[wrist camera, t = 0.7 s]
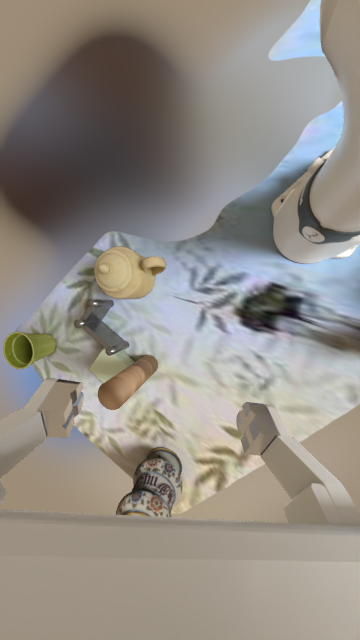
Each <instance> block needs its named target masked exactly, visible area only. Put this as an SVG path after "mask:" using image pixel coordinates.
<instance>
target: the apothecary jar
mask: <svg viewBox="0 0 360 640" xmlns="http://www.w3.org/2000/svg"><path fill="white" fill-rule="evenodd" d="M181 472H182V464H181V461H180V459H179V457H178V456H177V455H176V454H175V453H174V452H173V451H171V450H169V449H166V448H156V449H154V450H152V451H151V452H150V453H149V454H148V456H147V459H146V460H145V461H143V462H142V463H141V464H140V465H139V466H138V467H137V469H136V471H135V474H134V479H133V483H134V487H133V489H132V492H130V493H128V494H127V495H126V496H124V497H123V499H122V500H121V501H120V503H119V505H118V507H117V511H116V515H130V516H153V517H171V514H170V513H171V510H172V507H174V506H175V505H176V504H177V502H178V501H179V499H180V497H181V494H182V481H181V477H180V475H181Z"/></svg>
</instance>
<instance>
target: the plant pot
mask: <svg viewBox="0 0 360 640" xmlns="http://www.w3.org/2000/svg"><path fill="white" fill-rule="evenodd" d="M55 348H56V342H55V339H54V338H53V337H52V336H50V335H49V334H25V333H22V332H13V333H11V334H9V336H7V338H6V339H5V341H4V345H3V353H4V356H5V359H6V360H7V362H8V363H9V364H10V365H11V366H12V367H14V368H16V369H24V368H27V367H28V366H29V365H30V364H32V363H33V362H34V361H37V360H39V359H41V358H43V357H45V356H48V355H50V354H52V353H53V352H54V350H55Z"/></svg>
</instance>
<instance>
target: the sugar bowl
mask: <svg viewBox="0 0 360 640" xmlns="http://www.w3.org/2000/svg"><path fill="white" fill-rule="evenodd" d="M165 269H166V262H165V260H164V259H163V258H162V257H157V256H154V257H147V258H144V257H143V256H141V255H140V254H138V253H136V252H134V251H132V250H131V249H128V248H126V247H120V246H119V247H113V248H111V249H109V250H107V251H106V252H104V253H103V254H101V255H100V257H99V258H98V259H97V261H96V264H95V268H94V272H95V278H96V280H97V283H98V284H99V286H100V287H101V289H102V290H103V291H104V292H105V293H106V294H107V295H109V296H111V297H114V298H120V299H139V298H142V297H144V296H146V295H147V294H148V293H150V291H151V290H152V288H153V286H154V284H155V275H157V274H159V273H161V272H163V271H164V270H165Z"/></svg>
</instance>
